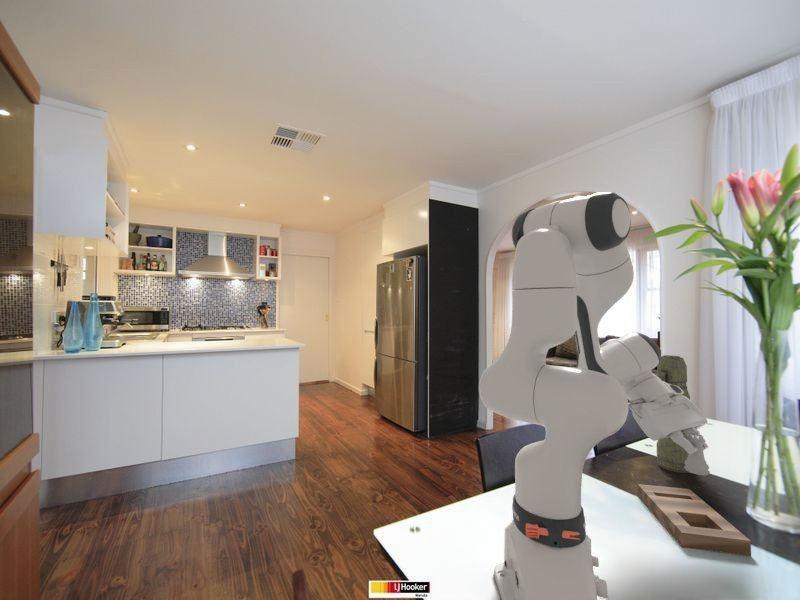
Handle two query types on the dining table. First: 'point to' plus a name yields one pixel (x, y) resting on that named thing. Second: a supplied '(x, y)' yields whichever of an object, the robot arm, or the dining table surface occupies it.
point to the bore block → (693, 520)
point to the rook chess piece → (696, 457)
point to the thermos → (667, 449)
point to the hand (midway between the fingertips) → (699, 451)
